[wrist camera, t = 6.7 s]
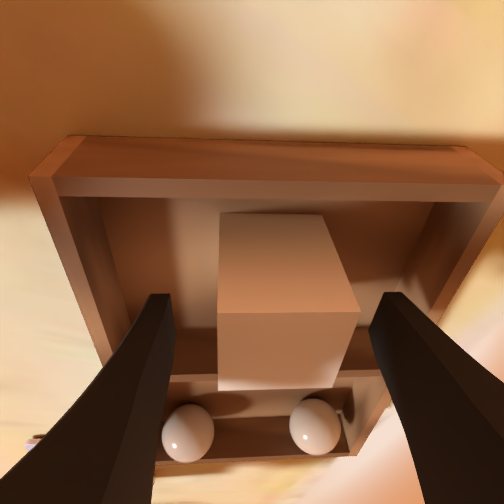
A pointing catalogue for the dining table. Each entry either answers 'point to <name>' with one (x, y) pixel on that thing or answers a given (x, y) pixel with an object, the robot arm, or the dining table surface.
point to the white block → (281, 303)
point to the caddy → (260, 202)
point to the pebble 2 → (315, 426)
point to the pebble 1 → (188, 433)
